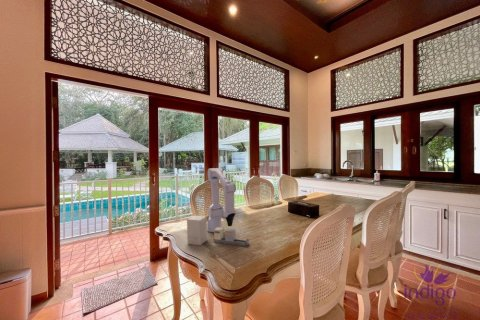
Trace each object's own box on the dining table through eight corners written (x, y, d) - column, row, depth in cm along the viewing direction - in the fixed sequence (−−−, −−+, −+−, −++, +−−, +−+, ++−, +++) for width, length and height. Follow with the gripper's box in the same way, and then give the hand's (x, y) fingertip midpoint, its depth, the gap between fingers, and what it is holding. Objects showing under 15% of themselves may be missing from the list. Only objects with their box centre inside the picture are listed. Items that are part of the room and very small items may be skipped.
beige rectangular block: (214, 239, 126) (214, 229, 126) (217, 236, 130) (217, 227, 130) (220, 240, 125) (220, 230, 125) (223, 237, 129) (222, 227, 129)
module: (225, 240, 124) (225, 230, 124) (227, 237, 128) (227, 228, 128) (233, 241, 122) (232, 231, 122) (235, 238, 126) (235, 229, 126)
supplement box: (207, 239, 130) (207, 216, 130) (200, 245, 122) (199, 220, 122) (194, 238, 133) (194, 215, 133) (187, 243, 125) (186, 219, 125)
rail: (213, 242, 126) (213, 237, 126) (216, 239, 130) (216, 234, 130) (246, 246, 120) (246, 241, 120) (248, 243, 124) (248, 238, 124)
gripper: (231, 206, 117) (231, 230, 117) (239, 201, 130) (240, 222, 131) (219, 205, 119) (220, 229, 119) (229, 200, 133) (229, 221, 133)
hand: (229, 225), depth 125 cm, fingers closed
